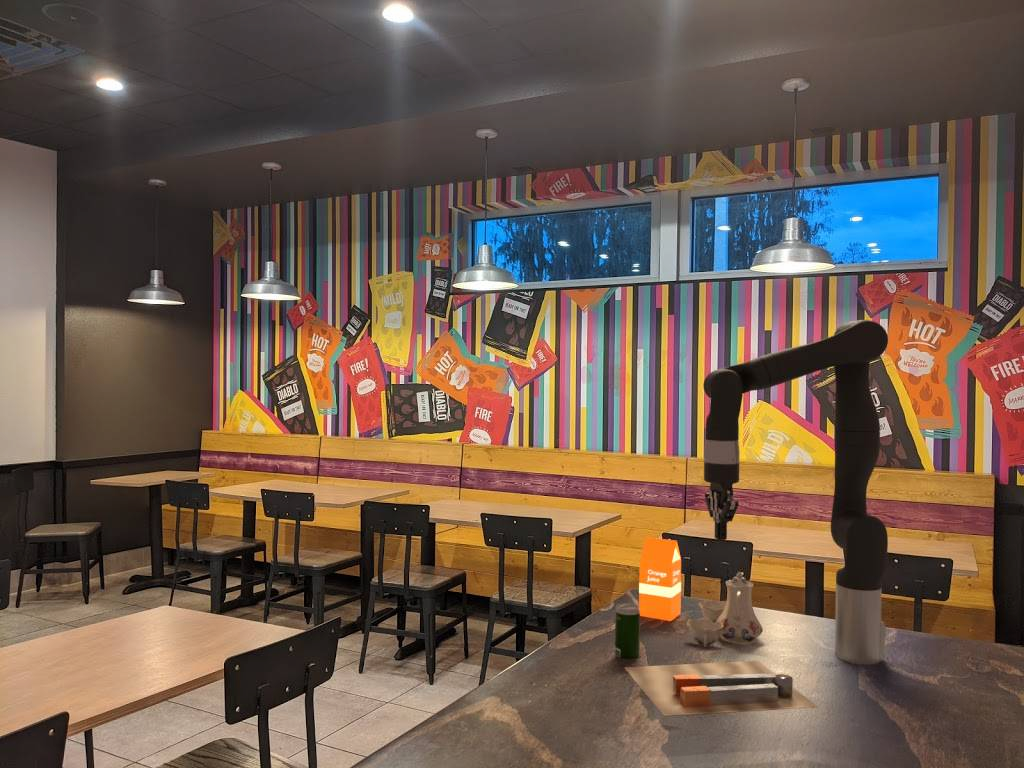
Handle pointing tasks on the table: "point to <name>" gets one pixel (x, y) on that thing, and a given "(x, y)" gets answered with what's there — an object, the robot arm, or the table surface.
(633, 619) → the beer can
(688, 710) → the cutting board
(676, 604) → the orange juice
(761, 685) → the tong fixed arm
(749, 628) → the chinaware
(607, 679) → the table surface
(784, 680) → the tong free arm
